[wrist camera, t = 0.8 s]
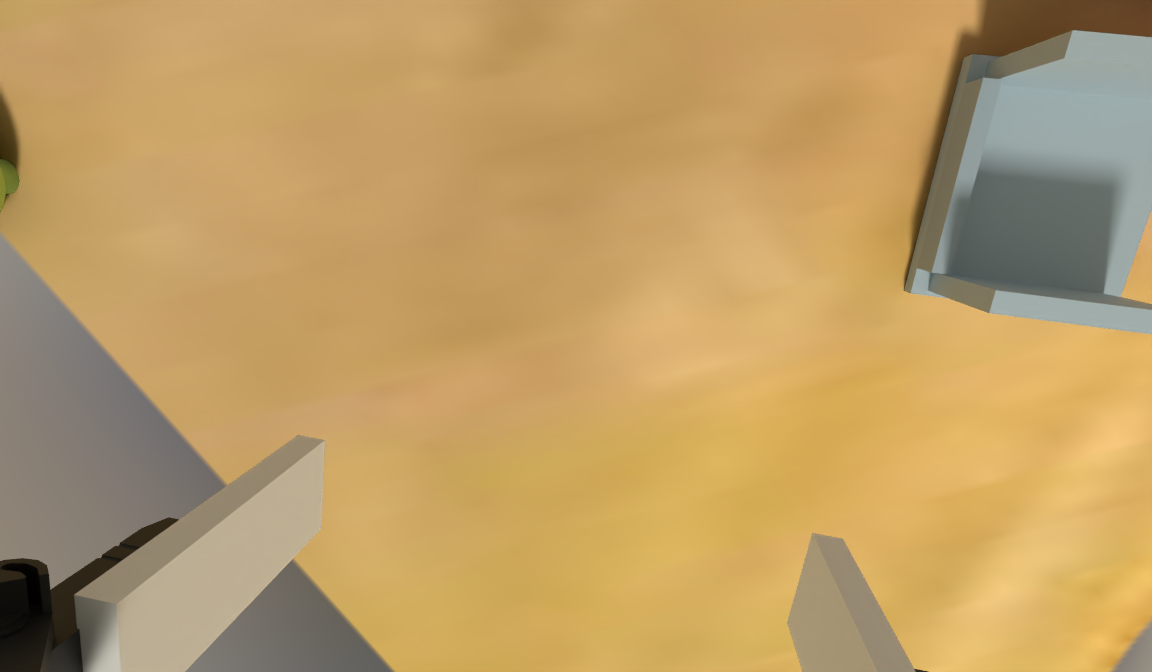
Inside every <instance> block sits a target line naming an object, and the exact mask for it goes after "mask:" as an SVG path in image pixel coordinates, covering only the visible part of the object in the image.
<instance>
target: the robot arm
mask: <svg viewBox="0 0 1152 672" xmlns="http://www.w3.org/2000/svg"><path fill="white" fill-rule="evenodd" d="M324 450H325V440H321V439H316V438H310V437H305V436H300V435H298V436H296V437H295V438H294V439H292V440H291V441H289V442H288V443H287V444H285V445H284V446H282V447H281V448H280V449H278V450H277V451H275V452H274V453H273V454H271V455H270V456H268V457H267V458H266V459H264V460H263V461H261V462H260V463H259V464H257V465H256V466H254V467H253V468H251V469H250V470H249V471H247V472H246V473H244V474H243V475H242V476H240V477H239V478H237V479H236V480H235V481H233V482H232V483H230V484H229V485H228V486H226V487H225V488H223V489H222V490H221V491H220V492H218V493H216V494H215V495H214V496H212V497H211V498H210V499H208V500H207V501H205V502H204V503H202V504H201V505H200V506H198V507H197V508H195V509H194V510H193V511H191V512H190V513H188V514H187V515H185V516H184V517H183V518H181V519H180V520H178V519H174V518H166V519H164V520H161V521H159V522H156V523H154V524H151V525H149V526H146V527H144V528H141V529H140V530H138V531H137V532H135V533H134V534H132V535H131V536H130V537H128V538H127V539H125V540H124V541H122V542H121V543H120V545H119V546H115V547H113V548H112V549H110V550H109V551H107V552H106V553H104V554H103V555H102V557H101V558H97V559H95V560H94V561H93V562H91V563H90V564H88V565H87V566H85V567H84V568H82V569H81V570H79V571H78V572H76V573H75V574H73V575H72V576H70V577H69V578H67V579H66V580H64V581H63V582H61V583H60V584H58V585H57V586H55V587H54V588H52V589H51V590H50V582H49V574H48V568H47V565H45V564H44V563H42V562H40V561H39V560H32V559H24V558H21V559H11V560H3V561H0V672H185V671H186V670H187V669H188V668H189V666H191V665H192V664H193V663H194V661H195V660H196V659H197V658H198V657H199V656H200V655H201V654H202V653H203V652H204V651H205V650H206V649H207V648H208V647H209V646H210V645H211V644H212V642H214V641H215V639H216V638H217V637H218V636H219V635H220V634H221V633H222V632H223V631H224V630H225V629H226V628H227V627H228V626H229V625H230V624H231V623H232V622H233V621H234V620H235V619H236V617H237V616H238V615H239V614H240V613H241V612H242V611H243V610H244V609H245V608H246V607H247V606H248V605H249V604H250V603H251V602H252V601H253V600H254V599H255V598H256V597H257V595H258V594H259V593H260V592H261V591H262V590H263V589H264V588H265V587H266V586H267V585H268V584H269V583H270V582H271V581H272V580H273V579H274V578H275V577H276V576H277V575H278V574H279V572H280V571H281V570H282V569H283V568H284V567H285V566H286V565H287V564H288V563H289V562H290V561H291V560H292V559H293V558H294V557H295V556H296V555H297V554H298V553H299V552H300V550H301V549H302V548H303V547H304V546H305V545H306V544H307V543H308V542H309V541H310V540H311V539H312V538H313V537H314V536H315V535H316V534H317V533H318V532H319V531H320V530H321V528H322V503H323V476H324ZM787 624H788V627H789V630H790V633H791V636H792V639H793V643H794V646H795V649H796V652H797V655H798V658H799V662H800V665H801V668H802V671H803V672H927V671H922V670H917V669H914V668H913V666H912V664H911V662H910V660H909V659H908V657H907V655H906V653H905V651H904V650H903V648H902V646H901V644H900V642H899V640H898V639H897V637H896V635H895V633H894V631H893V629H892V628H891V626H890V624H889V622H888V620H887V619H886V617H885V615H884V613H883V611H882V609H881V608H880V606H879V604H878V602H877V600H876V598H875V597H874V595H873V593H872V591H871V589H870V588H869V586H868V584H867V582H866V580H865V578H864V577H863V575H862V573H861V571H860V569H859V567H858V566H857V564H856V562H855V560H854V558H853V557H852V555H851V553H850V551H849V549H848V547H847V546H846V544H845V542H844V540H843V539H841V538H836V537H830V536H825V535H820V534H815V533H812V536H811V540H810V543H809V547H808V551H807V554H806V558H805V561H804V565H803V568H802V572H801V575H800V579H799V583H798V586H797V590H796V593H795V597H794V600H793V604H792V608H791V611H790V615H789V618H788V622H787Z"/></svg>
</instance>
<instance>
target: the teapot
mask: <svg viewBox="0 0 1152 672" xmlns="http://www.w3.org/2000/svg"><path fill="white" fill-rule="evenodd" d="M18 186H19V175H18V172H17V170H16V168H15V167H14V166H13V165H12V164H11V163H10V162H8V161H7V160H4V159H0V212H1V210H2V208H3V206H4V201H5V197H6V194H11V193H13V192H15V191H16V190H17V188H18Z"/></svg>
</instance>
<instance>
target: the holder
mask: <svg viewBox="0 0 1152 672" xmlns="http://www.w3.org/2000/svg"><path fill="white" fill-rule="evenodd" d="M1151 209H1152V37H1143V36H1132V35H1121V34H1110V33H1099V32H1088V31H1077V30H1072V31H1069V32H1066V33H1064V34H1061V35H1058V36H1056V37H1053V38H1050V39H1048V40H1045V41H1042V42H1040V43H1037V44H1034V45H1032V46H1029V47H1026V48H1024V49H1021V50H1018V51H1016V52H1013V53H1010V54H1008V55H1005V56H1002V57H999V56H988V55H978V54H971V55H969V56H967V57H964V59H963V63H962V66H961V70H960V74H959V78H958V82H957V86H956V90H955V94H954V98H953V102H952V106H951V109H950V113H949V117H948V121H947V125H946V129H945V133H944V137H943V141H942V145H941V148H940V152H939V156H938V160H937V164H936V168H935V172H934V176H933V180H932V184H931V188H930V191H929V195H928V199H927V203H926V207H925V211H924V215H923V219H922V223H921V227H920V230H919V234H918V238H917V242H916V246H915V250H914V254H913V258H912V262H911V266H910V270H909V273H908V277H907V281H906V285H905V289H904V291H906V292H908V293H912V294H919V295H927V296H935V297H943V298H949V299H952V300H955V301H957V302H960V303H963V304H966V305H968V306H971V307H974V308H977V309H979V310H982V311H985V312H988V313H992V314H1000V315H1008V316H1015V317H1023V318H1031V319H1038V320H1046V321H1054V322H1061V323H1069V324H1077V325H1085V326H1092V327H1100V328H1108V329H1115V330H1123V331H1131V332H1138V333H1146V334H1152V304H1148V303H1144V302H1139V301H1135V300H1131V299H1126V298H1122V297H1121V294H1122V292H1123V289H1124V286H1125V283H1126V280H1127V277H1128V274H1129V272H1130V269H1131V266H1132V263H1133V260H1134V257H1135V254H1136V252H1137V249H1138V246H1139V243H1140V240H1141V237H1142V234H1143V232H1144V229H1145V226H1146V223H1147V220H1148V217H1149V214H1150V211H1151Z"/></svg>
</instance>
